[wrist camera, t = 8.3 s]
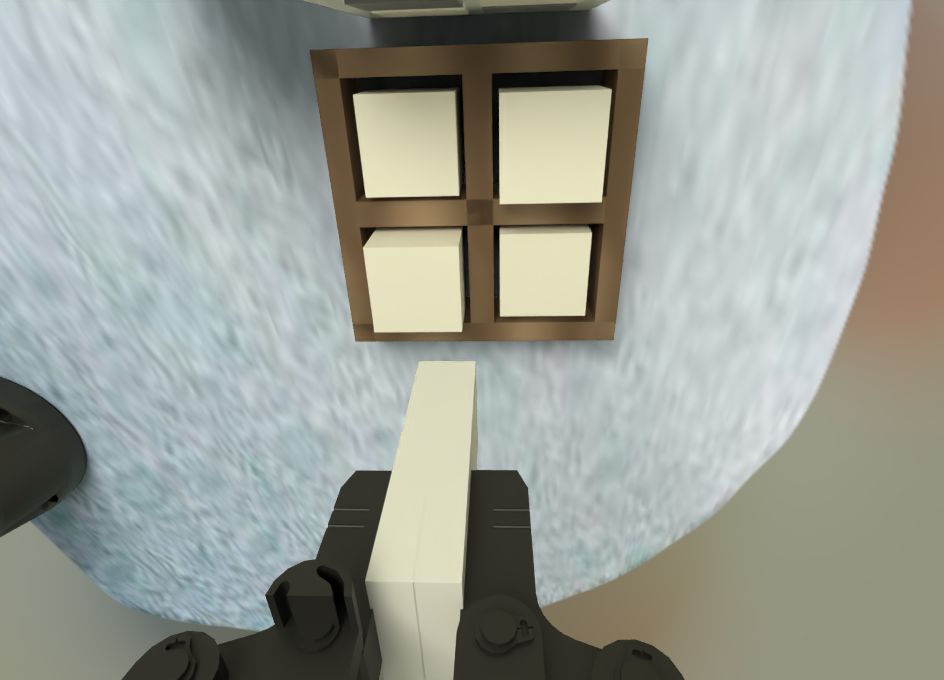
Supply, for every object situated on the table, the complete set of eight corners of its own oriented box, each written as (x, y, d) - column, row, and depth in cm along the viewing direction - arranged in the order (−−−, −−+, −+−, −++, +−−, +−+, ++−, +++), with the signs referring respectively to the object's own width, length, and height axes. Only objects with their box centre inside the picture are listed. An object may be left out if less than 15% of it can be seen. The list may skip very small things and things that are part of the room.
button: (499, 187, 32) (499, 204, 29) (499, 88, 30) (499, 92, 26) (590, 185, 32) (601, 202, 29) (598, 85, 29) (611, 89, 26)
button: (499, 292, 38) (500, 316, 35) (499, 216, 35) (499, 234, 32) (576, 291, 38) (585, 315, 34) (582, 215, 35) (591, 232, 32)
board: (368, 314, 41) (355, 341, 37) (332, 50, 32) (309, 50, 28) (602, 312, 40) (613, 340, 36) (629, 40, 31) (648, 38, 27)
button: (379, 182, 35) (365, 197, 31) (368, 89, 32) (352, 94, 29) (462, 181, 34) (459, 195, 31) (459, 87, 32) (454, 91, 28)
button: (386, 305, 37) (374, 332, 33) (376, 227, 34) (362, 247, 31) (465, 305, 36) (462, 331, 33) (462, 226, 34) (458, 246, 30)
